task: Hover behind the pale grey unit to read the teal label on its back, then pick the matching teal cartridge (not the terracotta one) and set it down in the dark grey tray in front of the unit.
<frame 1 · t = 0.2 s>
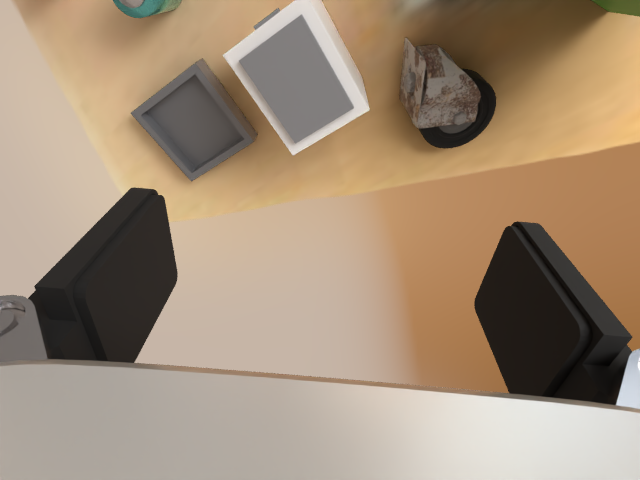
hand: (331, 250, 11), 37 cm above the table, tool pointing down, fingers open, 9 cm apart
unit: (307, 56, 41), on the table
tray: (199, 120, 46), on the table
caster wheel: (443, 90, 43), on the table
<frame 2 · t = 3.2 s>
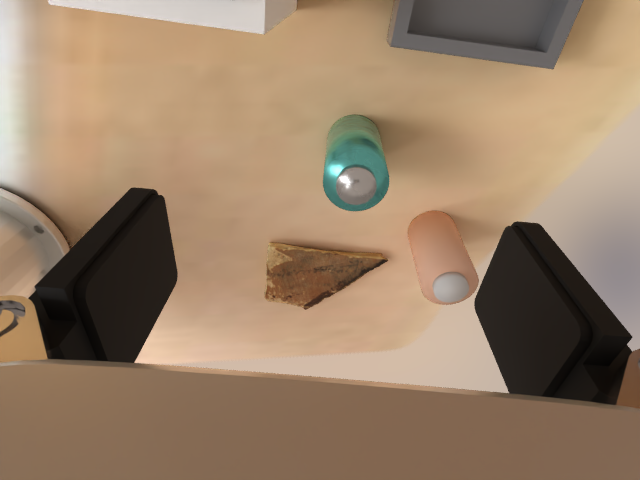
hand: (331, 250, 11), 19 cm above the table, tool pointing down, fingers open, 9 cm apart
terracotta cartridge: (431, 230, 33), on the table
teal cartridge: (353, 141, 29), on the table
shard: (311, 256, 36), on the table
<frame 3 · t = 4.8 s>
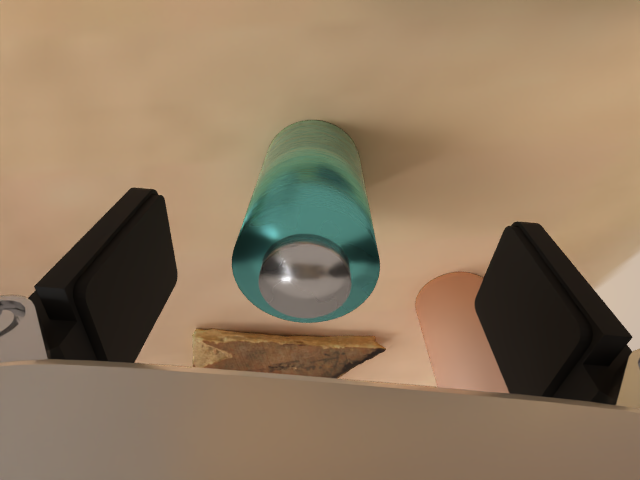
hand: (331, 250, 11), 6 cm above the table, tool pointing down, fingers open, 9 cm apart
terracotta cartridge: (453, 301, 20), on the table
teal cartridge: (312, 167, 16), on the table
shard: (266, 342, 23), on the table
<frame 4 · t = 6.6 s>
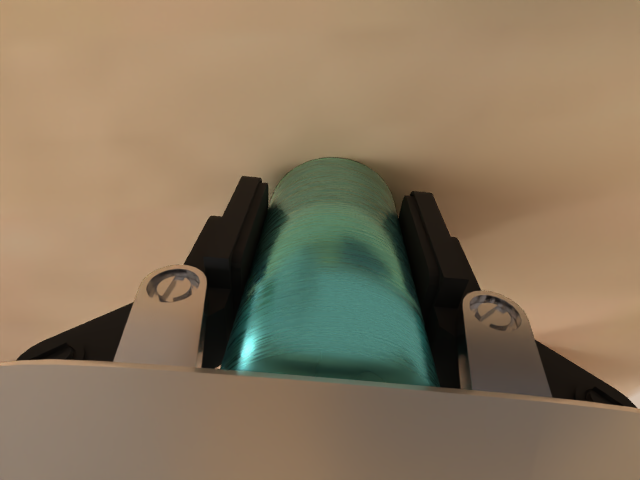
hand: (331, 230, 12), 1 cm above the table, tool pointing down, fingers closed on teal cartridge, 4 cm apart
teal cartridge: (331, 216, 12), on the table, touching gripper
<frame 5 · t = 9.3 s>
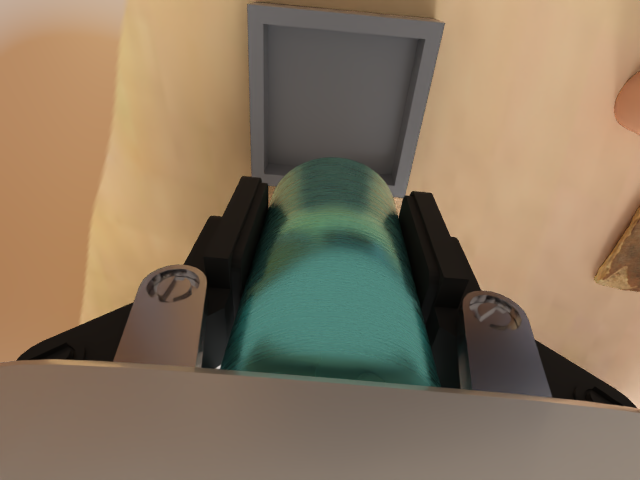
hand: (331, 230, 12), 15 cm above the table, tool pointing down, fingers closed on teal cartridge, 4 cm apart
teal cartridge: (332, 216, 12), point 14 cm above the table, touching gripper
shard: (633, 235, 29), on the table
tray: (336, 102, 24), on the table
when the fingers open (3 cm above the table, at t = 12.0 s): teal cartridge drops 2 cm, resting on tray.
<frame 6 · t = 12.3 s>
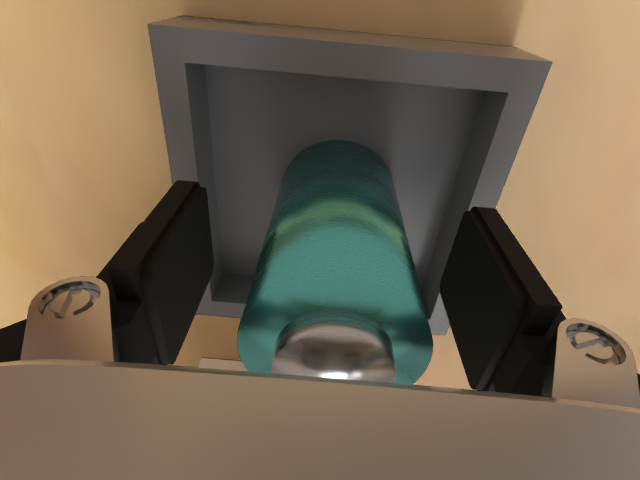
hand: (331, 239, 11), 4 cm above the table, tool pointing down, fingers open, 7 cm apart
unit: (291, 407, 23), on the table
teal cartridge: (336, 194, 14), point 1 cm above the table, touching tray
tray: (332, 182, 14), on the table
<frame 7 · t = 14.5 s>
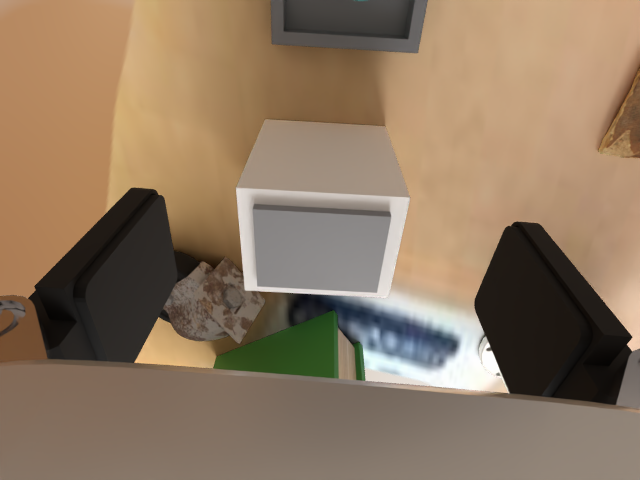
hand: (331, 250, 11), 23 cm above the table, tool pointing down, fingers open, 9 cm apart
hardback book: (288, 350, 49), on the table
unit: (322, 167, 34), on the table
shard: (635, 102, 31), on the table
caster wheel: (199, 279, 42), on the table
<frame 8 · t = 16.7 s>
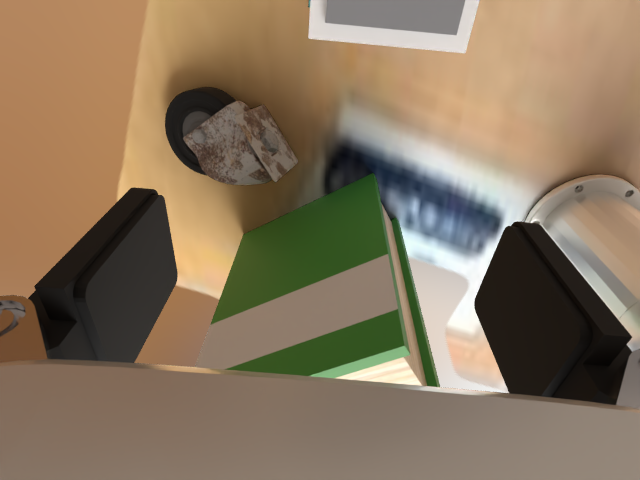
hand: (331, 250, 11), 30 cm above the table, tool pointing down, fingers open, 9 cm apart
hardback book: (320, 228, 47), on the table
caster wheel: (230, 133, 40), on the table
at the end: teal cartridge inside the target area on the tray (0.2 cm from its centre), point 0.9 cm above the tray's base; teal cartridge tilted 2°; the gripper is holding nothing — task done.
